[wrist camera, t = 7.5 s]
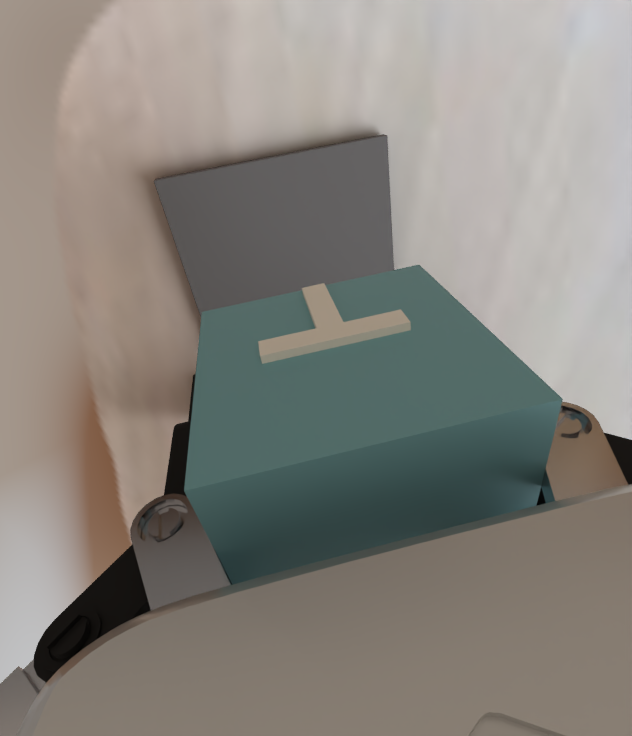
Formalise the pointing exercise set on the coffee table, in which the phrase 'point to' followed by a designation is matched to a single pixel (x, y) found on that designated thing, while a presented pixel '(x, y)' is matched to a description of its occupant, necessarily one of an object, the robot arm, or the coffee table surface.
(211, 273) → the mat
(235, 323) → the letter cube
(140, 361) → the coffee table surface
